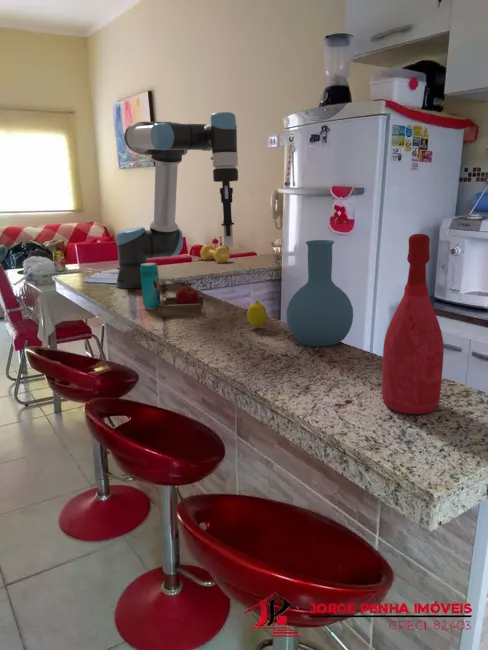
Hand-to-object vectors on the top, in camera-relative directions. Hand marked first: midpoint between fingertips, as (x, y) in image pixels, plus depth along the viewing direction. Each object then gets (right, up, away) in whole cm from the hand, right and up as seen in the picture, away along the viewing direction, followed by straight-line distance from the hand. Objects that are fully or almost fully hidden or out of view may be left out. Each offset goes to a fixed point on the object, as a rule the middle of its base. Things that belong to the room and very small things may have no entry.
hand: (228, 246), depth 158 cm
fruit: (+9, -26, -18) cm, 32 cm away
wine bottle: (+34, -39, -69) cm, 87 cm away
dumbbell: (-11, +9, +113) cm, 114 cm away
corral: (-15, -20, +5) cm, 26 cm away
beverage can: (-26, -19, +11) cm, 34 cm away
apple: (-13, -20, +6) cm, 25 cm away
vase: (+24, -29, -31) cm, 49 cm away
